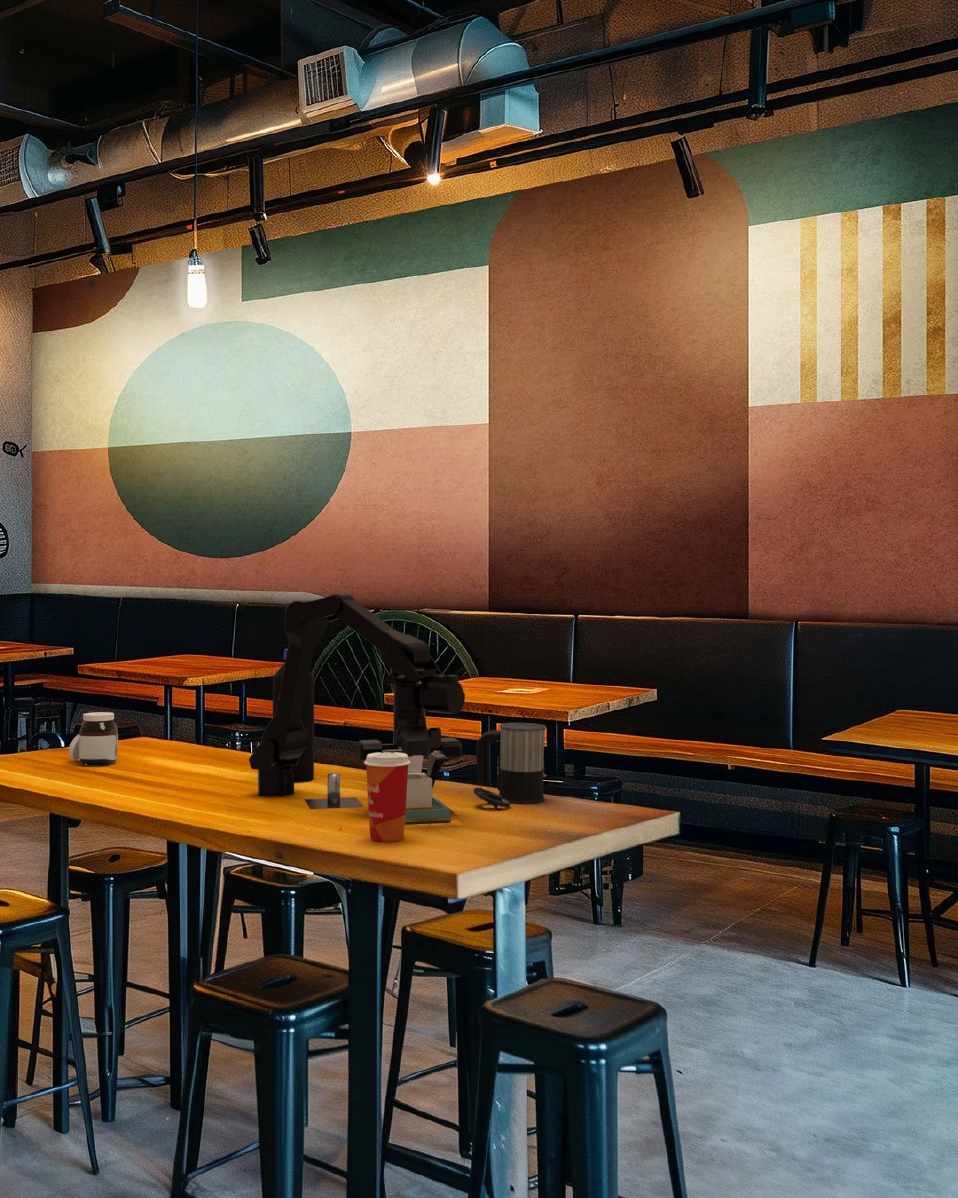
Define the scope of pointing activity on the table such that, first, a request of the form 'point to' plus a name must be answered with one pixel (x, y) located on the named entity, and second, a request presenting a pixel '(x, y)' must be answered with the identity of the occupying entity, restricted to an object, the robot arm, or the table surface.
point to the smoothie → (415, 764)
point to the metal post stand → (333, 796)
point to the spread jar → (96, 740)
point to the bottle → (306, 761)
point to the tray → (429, 814)
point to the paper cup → (387, 795)
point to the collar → (419, 790)
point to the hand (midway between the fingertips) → (408, 796)
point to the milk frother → (513, 764)
